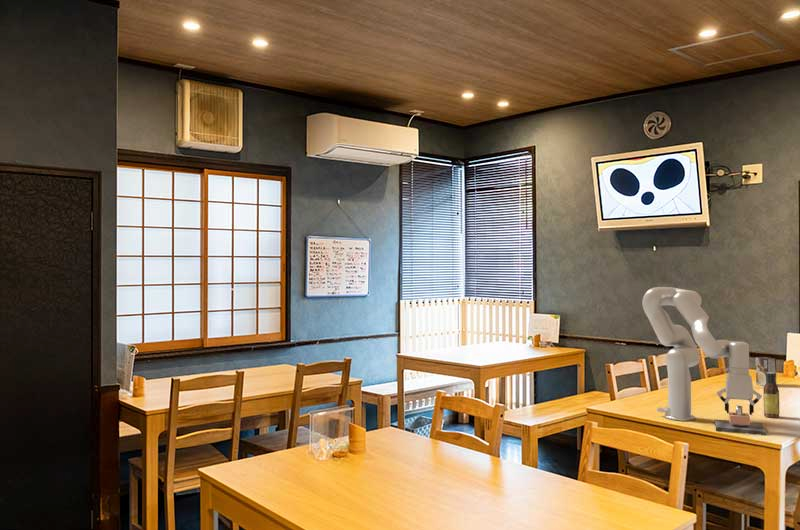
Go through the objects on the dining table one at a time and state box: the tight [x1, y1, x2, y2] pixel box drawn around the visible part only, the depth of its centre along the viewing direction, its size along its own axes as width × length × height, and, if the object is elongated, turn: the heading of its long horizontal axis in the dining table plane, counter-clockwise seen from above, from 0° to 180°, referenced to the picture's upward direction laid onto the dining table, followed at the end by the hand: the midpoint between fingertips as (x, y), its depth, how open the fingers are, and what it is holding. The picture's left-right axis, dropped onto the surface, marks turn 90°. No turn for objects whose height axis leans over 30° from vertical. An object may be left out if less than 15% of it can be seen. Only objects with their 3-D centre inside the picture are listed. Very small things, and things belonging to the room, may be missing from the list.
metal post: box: [731, 405, 747, 427], centre depth 273 cm, size 6×6×8 cm
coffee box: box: [755, 356, 777, 386], centre depth 380 cm, size 9×6×16 cm
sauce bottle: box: [762, 372, 780, 419], centre depth 296 cm, size 7×6×20 cm
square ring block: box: [728, 411, 751, 425], centre depth 273 cm, size 7×7×4 cm
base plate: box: [714, 419, 767, 436], centre depth 273 cm, size 18×16×2 cm
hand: (739, 413), depth 273 cm, fingers open, 8 cm apart
